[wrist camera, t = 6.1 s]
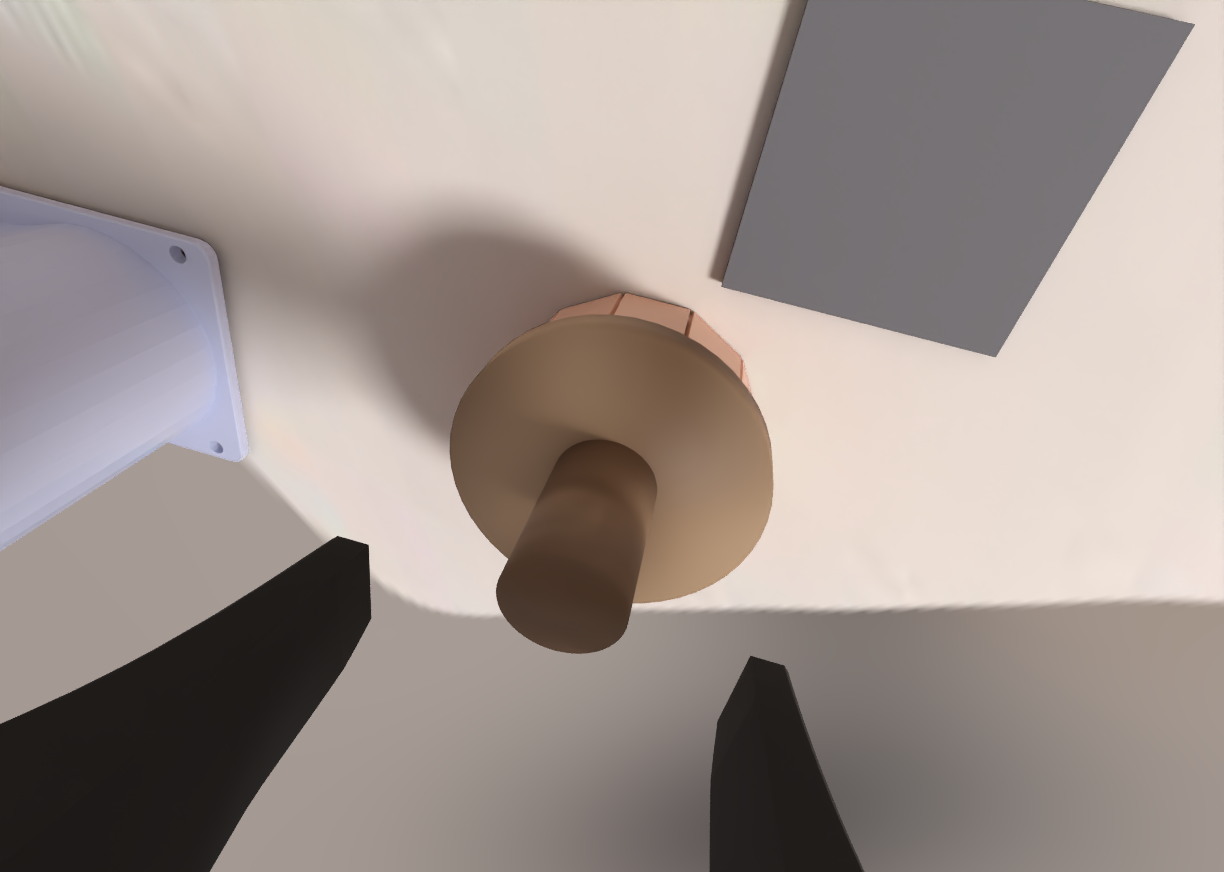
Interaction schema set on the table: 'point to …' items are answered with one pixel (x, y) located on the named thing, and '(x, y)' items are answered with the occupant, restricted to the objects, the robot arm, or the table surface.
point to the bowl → (662, 323)
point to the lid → (609, 473)
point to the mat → (940, 156)
